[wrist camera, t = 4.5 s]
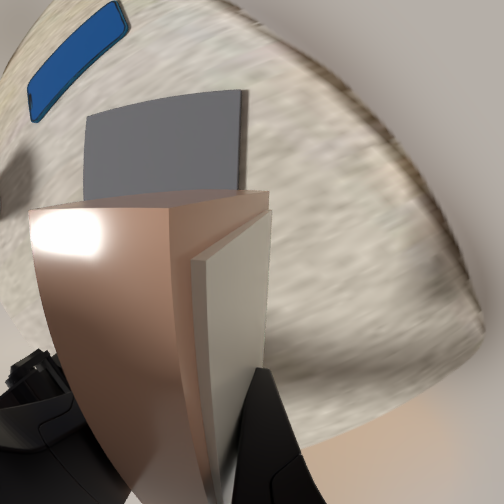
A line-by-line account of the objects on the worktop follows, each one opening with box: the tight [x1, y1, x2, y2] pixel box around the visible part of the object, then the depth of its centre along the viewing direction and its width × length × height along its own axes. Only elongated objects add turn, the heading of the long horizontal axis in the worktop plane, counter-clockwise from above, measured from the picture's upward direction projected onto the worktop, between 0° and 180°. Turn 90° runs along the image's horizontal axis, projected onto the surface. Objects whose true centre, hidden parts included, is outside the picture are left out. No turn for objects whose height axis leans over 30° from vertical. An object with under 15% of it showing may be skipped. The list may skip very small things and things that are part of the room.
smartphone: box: [27, 0, 128, 123], centre depth 17 cm, size 7×1×15 cm
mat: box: [83, 90, 242, 201], centre depth 19 cm, size 14×14×1 cm
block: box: [28, 189, 272, 504], centre depth 6 cm, size 10×2×6 cm, turn 178°
